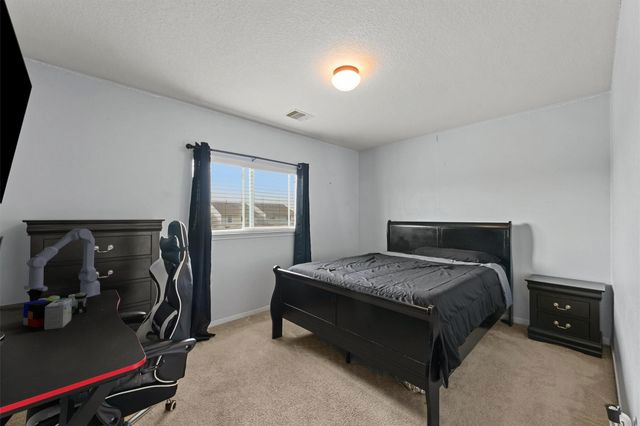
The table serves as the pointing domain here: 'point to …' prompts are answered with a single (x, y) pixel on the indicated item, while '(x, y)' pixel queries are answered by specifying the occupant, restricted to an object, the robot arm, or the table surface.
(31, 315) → the puzzle toy
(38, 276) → the robot arm
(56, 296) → the gray block
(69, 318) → the light bulb box
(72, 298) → the grey block
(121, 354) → the table surface
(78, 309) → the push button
